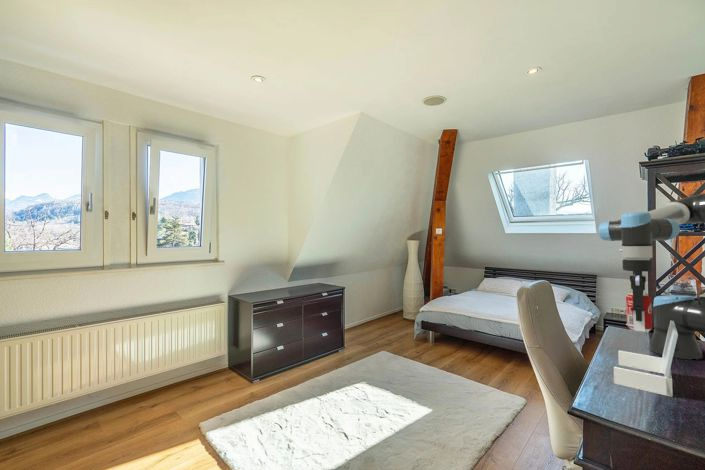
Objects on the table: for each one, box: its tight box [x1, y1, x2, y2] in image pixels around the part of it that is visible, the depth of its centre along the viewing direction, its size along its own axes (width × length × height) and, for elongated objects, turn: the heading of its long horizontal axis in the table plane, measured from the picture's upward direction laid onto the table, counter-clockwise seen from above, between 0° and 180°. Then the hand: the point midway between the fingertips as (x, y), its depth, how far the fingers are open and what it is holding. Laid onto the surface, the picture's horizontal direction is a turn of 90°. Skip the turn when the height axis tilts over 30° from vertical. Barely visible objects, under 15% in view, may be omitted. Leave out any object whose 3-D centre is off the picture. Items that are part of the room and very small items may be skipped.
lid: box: [661, 320, 678, 377], centre depth 101 cm, size 13×22×1 cm
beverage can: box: [625, 291, 653, 333], centre depth 106 cm, size 6×6×12 cm
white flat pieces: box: [613, 349, 673, 398], centre depth 106 cm, size 13×22×5 cm, turn 137°
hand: (639, 328), depth 106 cm, fingers closed on beverage can, 6 cm apart
